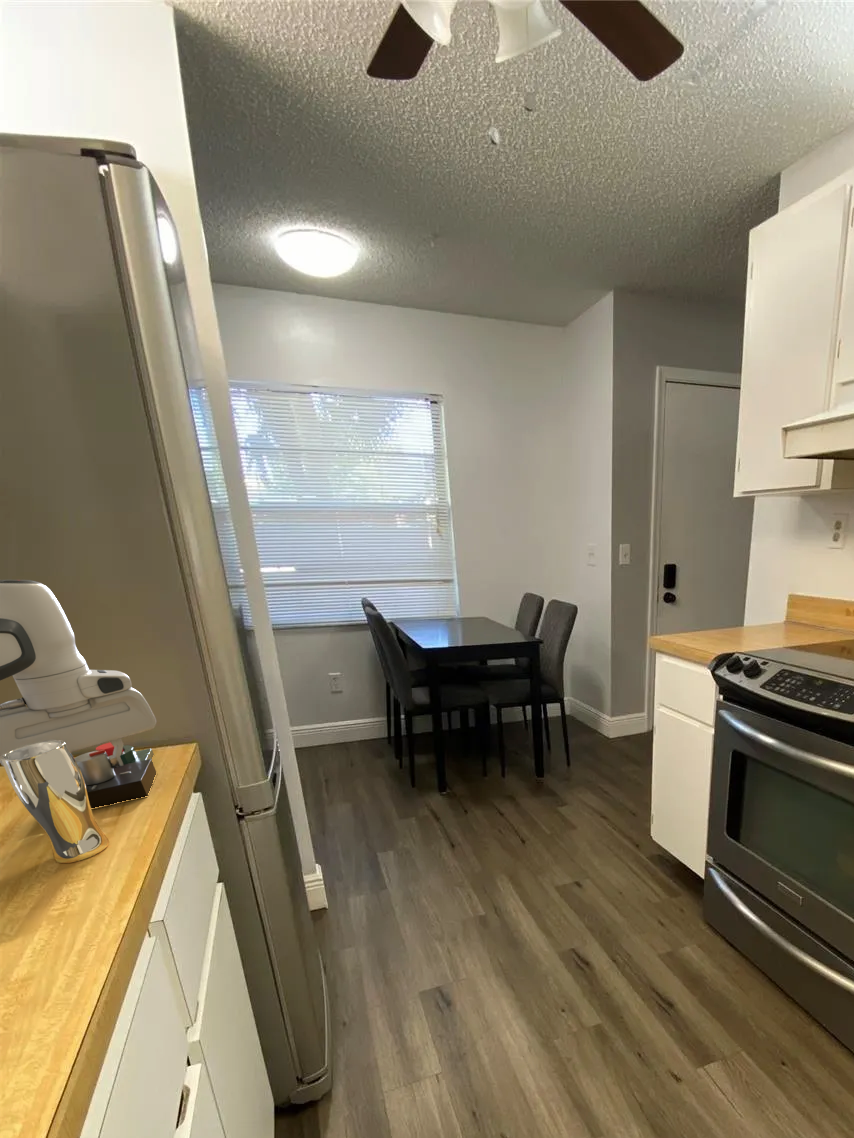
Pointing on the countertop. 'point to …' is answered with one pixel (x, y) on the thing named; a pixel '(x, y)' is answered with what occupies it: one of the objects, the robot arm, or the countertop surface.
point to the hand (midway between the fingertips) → (97, 772)
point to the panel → (123, 784)
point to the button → (106, 748)
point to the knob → (95, 767)
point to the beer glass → (56, 798)
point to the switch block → (135, 755)
